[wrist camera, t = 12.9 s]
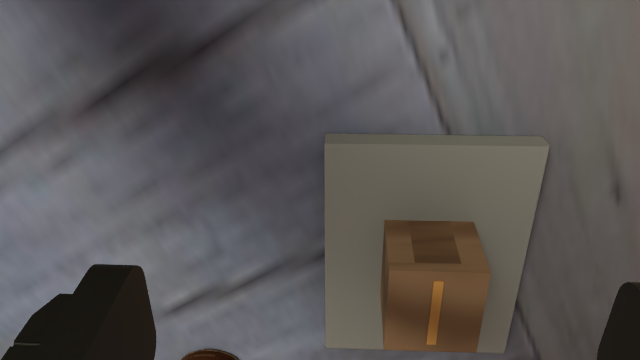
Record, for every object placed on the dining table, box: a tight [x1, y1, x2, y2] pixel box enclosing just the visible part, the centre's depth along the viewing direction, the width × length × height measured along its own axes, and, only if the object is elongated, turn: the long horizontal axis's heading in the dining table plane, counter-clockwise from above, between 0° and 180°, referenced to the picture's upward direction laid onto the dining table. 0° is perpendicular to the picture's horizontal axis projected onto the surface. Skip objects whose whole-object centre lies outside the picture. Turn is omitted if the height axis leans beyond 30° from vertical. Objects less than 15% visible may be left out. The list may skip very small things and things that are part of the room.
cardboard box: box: [380, 220, 491, 353], centre depth 37 cm, size 7×6×6 cm
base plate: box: [324, 133, 549, 353], centre depth 40 cm, size 14×18×2 cm
